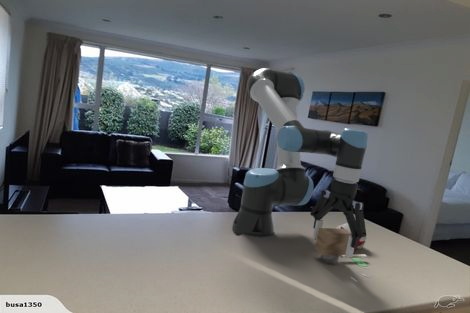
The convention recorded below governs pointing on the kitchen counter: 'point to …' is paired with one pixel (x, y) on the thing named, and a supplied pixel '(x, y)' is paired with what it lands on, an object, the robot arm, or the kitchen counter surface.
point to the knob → (333, 245)
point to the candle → (346, 227)
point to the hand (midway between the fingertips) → (331, 247)
